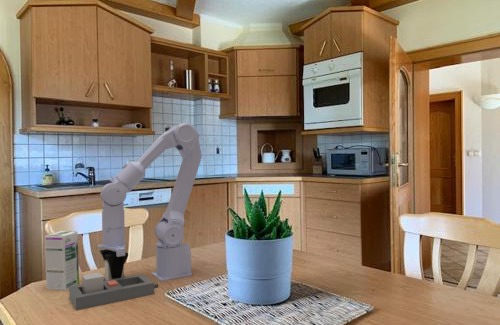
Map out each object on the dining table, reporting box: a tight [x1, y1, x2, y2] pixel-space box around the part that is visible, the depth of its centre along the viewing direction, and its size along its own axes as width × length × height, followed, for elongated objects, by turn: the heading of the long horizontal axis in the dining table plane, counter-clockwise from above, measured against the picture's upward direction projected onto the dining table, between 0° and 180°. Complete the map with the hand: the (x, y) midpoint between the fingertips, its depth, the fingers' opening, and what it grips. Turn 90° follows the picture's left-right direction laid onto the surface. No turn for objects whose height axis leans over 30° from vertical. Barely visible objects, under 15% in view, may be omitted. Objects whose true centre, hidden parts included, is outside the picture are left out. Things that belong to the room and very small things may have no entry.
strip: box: [68, 272, 159, 311], centre depth 96 cm, size 20×9×6 cm, turn 124°
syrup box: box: [44, 230, 80, 291], centre depth 102 cm, size 6×6×14 cm
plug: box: [104, 260, 125, 280], centre depth 105 cm, size 4×4×6 cm
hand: (114, 277), depth 105 cm, fingers closed on plug, 4 cm apart
